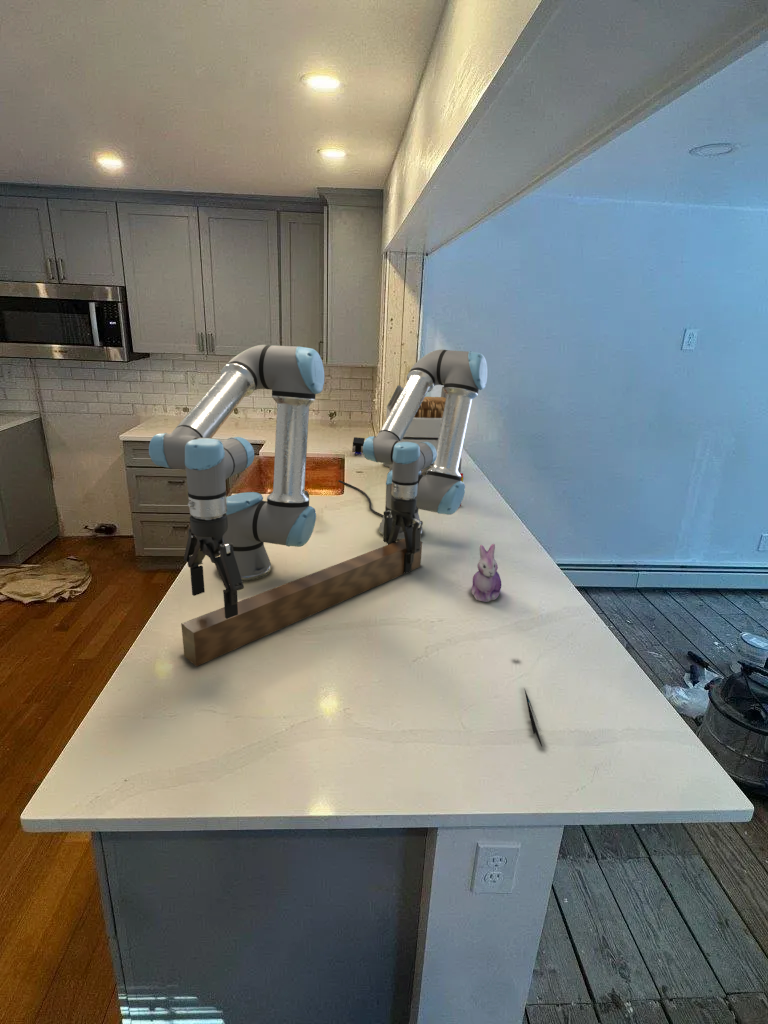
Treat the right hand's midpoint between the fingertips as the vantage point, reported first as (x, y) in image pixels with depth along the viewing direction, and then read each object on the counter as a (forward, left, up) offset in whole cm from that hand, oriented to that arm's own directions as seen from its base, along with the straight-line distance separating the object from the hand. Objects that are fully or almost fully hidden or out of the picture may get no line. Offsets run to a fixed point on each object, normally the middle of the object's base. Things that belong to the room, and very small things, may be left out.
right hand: (399, 568), depth 172 cm
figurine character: (-121, +79, 0) cm, 144 cm away
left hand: (+7, -62, +11) cm, 63 cm away
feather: (+61, -20, 0) cm, 64 cm away
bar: (+3, -31, 0) cm, 31 cm away
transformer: (-75, +80, 0) cm, 110 cm away
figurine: (+26, +9, 0) cm, 28 cm away
